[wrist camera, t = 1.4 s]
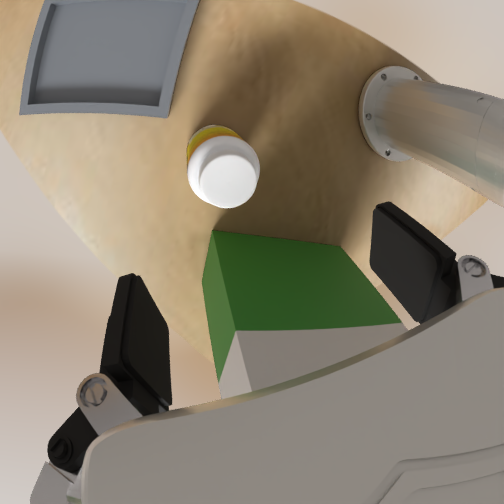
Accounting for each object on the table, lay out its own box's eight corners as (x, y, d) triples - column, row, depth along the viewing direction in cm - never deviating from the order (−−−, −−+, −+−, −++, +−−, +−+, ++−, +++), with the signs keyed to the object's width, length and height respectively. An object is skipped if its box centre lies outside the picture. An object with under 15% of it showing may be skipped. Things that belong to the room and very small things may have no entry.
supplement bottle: (175, 143, 25) (171, 172, 17) (223, 113, 25) (244, 126, 17) (205, 186, 29) (215, 232, 20) (250, 158, 28) (282, 193, 20)
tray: (200, -2, 17) (201, -8, 16) (168, 116, 24) (167, 118, 22) (53, 0, 12) (46, -4, 11) (28, 112, 19) (19, 115, 17)
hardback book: (340, 246, 37) (448, 387, 18) (320, 288, 41) (402, 427, 21) (212, 230, 32) (268, 448, 12) (201, 281, 35) (238, 475, 16)
